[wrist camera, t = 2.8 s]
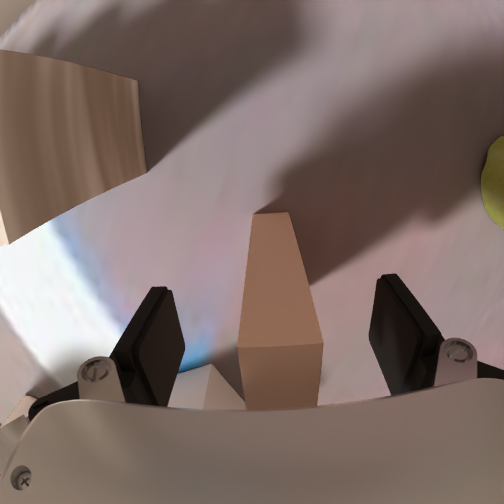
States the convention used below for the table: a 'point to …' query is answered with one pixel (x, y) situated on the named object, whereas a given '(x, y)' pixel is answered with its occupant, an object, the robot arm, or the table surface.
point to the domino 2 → (278, 321)
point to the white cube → (204, 391)
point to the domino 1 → (62, 138)
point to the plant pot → (494, 182)
